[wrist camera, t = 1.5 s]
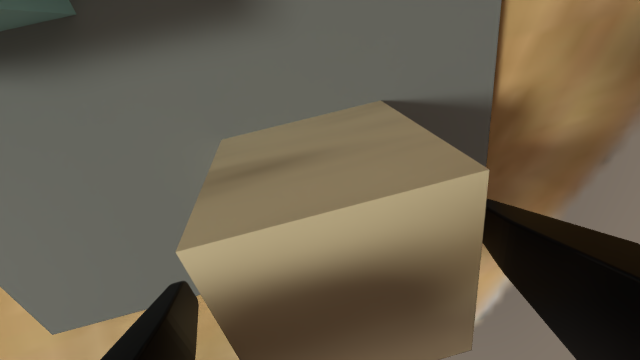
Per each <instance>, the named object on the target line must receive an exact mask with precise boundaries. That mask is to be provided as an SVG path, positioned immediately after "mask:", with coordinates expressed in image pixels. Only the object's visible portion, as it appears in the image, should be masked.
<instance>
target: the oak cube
mask: <svg viewBox="0 0 640 360" xmlns="http://www.w3.org/2000/svg"><path fill="white" fill-rule="evenodd" d="M488 179H489V169H488V168H486V167H485V166H483V165H481V164H480V163H478V162H477V161H475V160H474V159H472V158H470V157H469V156H467V155H466V154H464V153H463V152H461V151H459V150H458V149H456V148H455V147H453V146H452V145H450V144H448V143H447V142H445V141H444V140H442V139H441V138H439V137H437V136H436V135H434V134H433V133H431V132H430V131H428V130H426V129H425V128H423V127H422V126H420V125H419V124H417V123H415V122H414V121H412V120H411V119H409V118H408V117H406V116H404V115H403V114H401V113H400V112H398V111H397V110H395V109H393V108H392V107H390V106H389V105H387V104H385V103H384V102H382V101H376V102H372V103H368V104H364V105H360V106H356V107H352V108H348V109H344V110H340V111H336V112H332V113H328V114H324V115H320V116H316V117H312V118H308V119H304V120H300V121H295V122H291V123H287V124H283V125H279V126H275V127H271V128H267V129H263V130H259V131H255V132H251V133H247V134H243V135H239V136H235V137H231V138H227V139H223V140H221V142H220V145H219V147H218V149H217V152H216V154H215V157H214V159H213V162H212V164H211V167H210V169H209V171H208V174H207V176H206V179H205V181H204V184H203V186H202V189H201V191H200V193H199V196H198V198H197V201H196V203H195V206H194V208H193V210H192V213H191V215H190V218H189V220H188V223H187V225H186V228H185V230H184V232H183V235H182V237H181V240H180V242H179V245H178V247H177V249H176V254H177V256H178V257H179V259H180V261H181V262H182V264H183V266H184V267H185V269H186V271H187V272H188V274H189V276H190V277H191V279H192V281H193V282H194V284H195V286H196V287H197V289H198V291H199V293H200V294H201V296H202V298H203V299H204V301H205V303H206V304H207V306H208V308H209V309H210V311H211V313H212V314H213V316H214V318H215V319H216V321H217V323H218V324H219V326H220V328H221V329H222V331H223V333H224V334H225V336H226V338H227V339H228V341H229V343H230V344H231V346H232V348H233V349H234V351H235V353H236V354H237V356H238V358H239V359H240V360H440V359H442V358H446V357H450V356H453V355H457V354H460V353H464V352H467V351H470V350H472V341H473V331H474V321H475V311H476V301H477V290H478V280H479V270H480V260H481V250H482V240H483V229H484V219H485V209H486V199H487V189H488Z"/></svg>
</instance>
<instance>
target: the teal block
mask: <svg viewBox="0 0 640 360" xmlns="http://www.w3.org/2000/svg"><path fill="white" fill-rule="evenodd" d="M72 15H76V12H75V10H74V8H73V7H72V5H71V3H70V1H69V0H0V31H4V30H8V29H13V28H18V27H22V26H27V25H31V24H36V23H40V22H45V21H49V20H54V19H58V18H63V17H67V16H72Z"/></svg>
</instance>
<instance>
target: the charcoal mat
mask: <svg viewBox="0 0 640 360" xmlns="http://www.w3.org/2000/svg"><path fill="white" fill-rule="evenodd" d="M69 1H70V3H71V5H72V7H73V8H74V10H75V12H76V15H72V16H67V17H63V18H58V19H54V20H49V21H45V22H40V23H36V24H31V25H27V26H22V27H18V28H13V29H8V30H4V31H0V287H1V288H2V289H3V290H5V291H6V292H7V293H8V294H9V295H10V296H11V297H12V298H13V299H14V300H15V301H16V302H18V303H19V304H20V305H21V306H22V307H23V308H24V309H25V310H26V311H27V312H28V313H29V314H31V315H32V316H33V317H34V318H35V319H36V320H37V321H38V322H39V323H40V324H41V325H42V326H43V327H45V328H46V329H47V330H48V331H49V332H50V333H51V334H52V335H54V334H57V333H61V332H65V331H68V330H72V329H76V328H79V327H83V326H87V325H90V324H94V323H98V322H102V321H105V320H109V319H113V318H116V317H120V316H124V315H127V314H131V313H135V312H138V311H142V310H146V309H148V308H149V307H150V305H151V304H152V303H153V302H154V301H155V300H156V299H157V298H158V297H159V296H160V295H161V294H162V292H163V291H164V290H165V289H166V288H167V287H168V286H169V285H170V284H172V283H176V282H180V281H186V282H187V283H188V284H189V286H190V288H191V289H192V291H193V292H194V294H195V296H197V295H201V294H200V293H199V291H198V289H197V287H196V286H195V284H194V282H193V281H192V279H191V277H190V276H189V274H188V272H187V271H186V269H185V267H184V266H183V264H182V262H181V261H180V259H179V257H178V256H177V254H176V249H177V247H178V245H179V242H180V240H181V237H182V235H183V232H184V230H185V228H186V225H187V223H188V220H189V218H190V215H191V213H192V210H193V208H194V206H195V203H196V201H197V198H198V196H199V193H200V191H201V189H202V186H203V184H204V181H205V179H206V176H207V174H208V171H209V169H210V167H211V164H212V162H213V159H214V157H215V154H216V152H217V149H218V147H219V145H220V142H221V140H223V139H227V138H231V137H235V136H239V135H243V134H247V133H251V132H255V131H259V130H263V129H267V128H271V127H275V126H279V125H283V124H287V123H291V122H295V121H300V120H304V119H308V118H312V117H316V116H320V115H324V114H328V113H332V112H336V111H340V110H344V109H348V108H352V107H356V106H360V105H364V104H368V103H372V102H376V101H382V102H384V103H385V104H387V105H389V106H390V107H392V108H393V109H395V110H397V111H398V112H400V113H401V114H403V115H404V116H406V117H408V118H409V119H411V120H412V121H414V122H415V123H417V124H419V125H420V126H422V127H423V128H425V129H426V130H428V131H430V132H431V133H433V134H434V135H436V136H437V137H439V138H441V139H442V140H444V141H445V142H447V143H448V144H450V145H452V146H453V147H455V148H456V149H458V150H459V151H461V152H463V153H464V154H466V155H467V156H469V157H470V158H472V159H474V160H475V161H477V162H478V163H480V164H481V165H483V166H485V167H486V163H487V152H488V142H489V131H490V120H491V109H492V98H493V87H494V76H495V65H496V54H497V44H498V33H499V22H500V11H501V0H69Z"/></svg>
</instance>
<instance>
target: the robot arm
mask: <svg viewBox="0 0 640 360" xmlns="http://www.w3.org/2000/svg"><path fill="white" fill-rule="evenodd" d="M482 242H483V244H484V245H485V247H486V248H487V250H488V251H489V253H490V254H491V256H492V257H493V259H494V260H495V262H496V263H497V265H498V266H499V267H500V269H501V270H502V271H503V273H504V274H505V275H506V276H507V278H508V279H509V280H510V281H511V282H512V284H513V285H514V286H515V287H516V288H517V289H518V291H519V292H520V293H521V294H522V295H523V297H524V298H525V299H526V300H527V301H528V303H529V304H530V305H531V306H532V307H533V309H535V311H536V312H537V313H538V314H539V316H540V317H541V318H542V319H543V320H544V321H545V323H546V324H547V325H548V326H549V328H550V329H551V330H552V331H553V332H554V333H555V334H556V336H557V337H558V338H559V339H560V341H561V342H562V343H563V344H564V345H565V346H566V348H567V349H568V350H569V351H570V352H571V353H572V355H573V356H574V357H575V358H576V360H640V244H638V243H635V242H632V241H628V240H625V239H622V238H618V237H615V236H612V235H608V234H605V233H601V232H598V231H594V230H591V229H588V228H585V227H581V226H578V225H574V224H571V223H568V222H564V221H561V220H558V219H554V218H551V217H548V216H544V215H541V214H537V213H534V212H531V211H527V210H524V209H521V208H517V207H514V206H510V205H507V204H504V203H500V202H497V201H494V200H490V199H486V209H485V219H484V229H483V240H482ZM197 323H198V300H197V297H196V296H195V294H194V292H193V291H192V289H191V288H190V286H189V284H188V283H187V282H186V281H180V282H176V283H172V284H170V285H169V286H168V287H167V288H166V289H165V290H164V291H163V292H162V294H161V295H160V296H159V297H158V298H157V299H156V300H155V301H154V302H153V303H152V304H151V305H150V307H149V308H148V309H147V310H146V311H145V312H144V313H143V314H142V315H141V316H140V317H139V318H138V320H137V321H136V322H135V323H134V324H133V325H132V326H131V327H130V328H129V329H128V330H127V331H126V333H125V334H124V335H123V336H122V337H121V338H120V339H119V340H118V341H117V342H116V343H115V344H114V346H113V347H112V348H111V349H110V350H109V351H108V352H107V353H106V354H105V355H104V356H103V357H102V359H101V360H195V355H196V341H197Z"/></svg>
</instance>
